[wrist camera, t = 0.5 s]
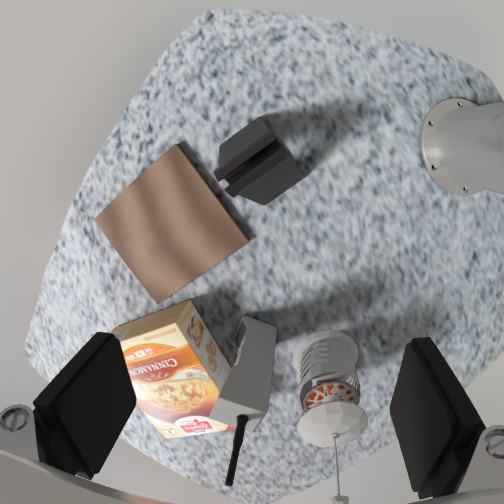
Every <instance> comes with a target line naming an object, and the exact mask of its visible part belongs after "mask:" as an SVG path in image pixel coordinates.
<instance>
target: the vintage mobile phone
mask: <svg viewBox="0 0 504 504" xmlns="http://www.w3.org/2000/svg"><path fill="white" fill-rule="evenodd" d="M276 335H277V327H275V326H272V325H270V324H267V323H264V322H261V321H259V320H256V319H253V318H251V317H248V316H245V315H243V317H242V319H241V322H240V324H239V327H238V329H237V331H236V334H235V337H234V341H235V343H236V345H237V348H238V351H237V354H236V358H235V361H234V365H233V367H232V368H231V370H230V372H229V374H228V376H227V378H226V381H225V383H224V385H223V387H222V389H221V391H220V394H219V396H218V398H217V400H216V402H215V404H214V407H213V409H212V411H211V413H210V416H209V418H210V419H212V420H215V421H218V422H221V423H224V424H227V425H230V426H233V427H236V431H235V436H234V440H233V451H232V455H231V460H230V464H229V469H228V473H227V478H226V482H225V485H227V486H232V485H233V480H234V475H235V470H236V465H237V460H238V455H239V451H240V447H241V445H242V442H243V437H244V432H245V431H249V432H255V431H256V429H257V428H258V426H259V424H260V423H261V421H262V420H263V418H264V416H265V415H266V413H267V412H268V408H269V399H270V391H271V382H272V373H273V364H274V354H275V345H276Z"/></svg>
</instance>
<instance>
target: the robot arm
mask: <svg viewBox="0 0 504 504" xmlns="http://www.w3.org/2000/svg"><path fill="white" fill-rule="evenodd" d="M458 105H459V106H458ZM428 122H430V125H429V123H428ZM420 149H421V155H422V158H423V161H424V164H425V166H426V168H427V170H428V172H429V174H430V175H431V177H432V178H433V180H434V181H435V182H436V183H437V184H438V185H439V186H441V187H442V188H444V189H445V190H447V191H449V192H452V193H454V194H458V195H472V194H475V193H477V192H480V191H481V190H483V189H485V190H489V191H493V192H496V193H499V194H503V195H504V102H498V103H492V104H486V105H480V106H477V105H476V104H474V103H472V102H470V101H468V100H465V99H461V98H451V99H446V100H443V101H441V102H439V103H437V104H436V105H434V106H433V107H432V108H431V109H430V110H429V112H428V113H427V115H426V116H425V118H424V121H423V124H422V126H421V132H420ZM432 165H433V169H432ZM463 188H464V190H463ZM136 402H137V398H136V394H135V391H134V388H133V385H132V382H131V378H130V375H129V372H128V368H127V365H126V361H125V358H124V354H123V351H122V347H121V343H120V340H119V339H118V338H116V336H115V335H114V334H112V333H105V332H97V333H96V334H95V335H94V336H93V337H92V338H91V339H90V340H89V341H88V342H87V343H86V344H85V345H84V346H83V347H82V348H81V350H80V351H79V352H78V353H77V354H76V355H75V356H74V357H73V358H72V359H71V360H70V361H69V362H68V364H67V365H66V366H65V367H64V368H63V369H62V370H61V371H60V372H59V373H58V374H57V376H56V377H55V378H54V379H53V380H52V381H51V382H50V383H49V384H48V386H47V387H46V388H45V389H44V390H43V391H42V392H41V393H40V394H39V396H38V397H37V398H36V399H35V400H34V401H33V404H34V406H35V409H34V410H33V411H32V410H31V409H30V407H28V406H26V405H21V404H19V405H13V406H10V407H8V408H6V409H4V410H3V411H2V412H1V413H0V504H173V503H168V502H163V501H158V500H154V499H150V498H146V497H141V496H138V495H133V494H130V493H126V492H123V491H119V490H116V489H113V488H110V487H106V486H103V485H100V484H97V483H94V482H91V481H88V480H92V478H93V476H94V474H97V473H99V472H100V470H101V468H102V466H103V464H104V462H105V461H106V459H107V457H108V455H109V453H110V451H111V450H112V448H113V446H114V444H115V442H116V440H117V439H118V437H119V435H120V433H121V431H122V430H123V428H124V426H125V424H126V422H127V421H128V419H129V417H130V415H131V413H132V412H133V410H134V408H135V406H136ZM390 415H391V418H392V421H393V424H394V428H395V431H396V434H397V438H398V440H399V444H400V448H401V451H402V454H403V458H404V461H405V465H406V469H407V472H408V476H409V480H410V483H411V487H412V490H413V491H414V492H418V496H419V499H424V498H428V497H432V496H433V498H432V499H428V500H424V501H419V502H414V503H409V504H504V426H503V425H494V426H491V427H489V428H487V429H486V427H485V425H484V423H483V421H482V420H481V418H480V416H479V415H478V413H477V411H476V409H475V407H474V406H473V404H472V402H471V401H470V399H469V397H468V396H467V394H466V392H465V390H464V389H463V387H462V386H461V384H460V382H459V381H458V379H457V377H456V376H455V374H454V373H453V371H452V370H451V368H450V366H449V365H448V363H447V362H446V360H445V359H444V357H443V356H442V354H441V353H440V351H439V350H438V348H437V347H436V345H435V344H434V342H433V341H432V339H431V338H430V337H423V338H414V339H412V341H411V343H408V344H407V345H406V347H405V351H404V356H403V360H402V364H401V368H400V372H399V375H398V379H397V383H396V386H395V390H394V394H393V397H392V400H391V404H390ZM76 474H77V475H78V476H80V477H83V478H85V479H83V478H80V477H77V476H75V475H76ZM86 479H88V480H86Z"/></svg>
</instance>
